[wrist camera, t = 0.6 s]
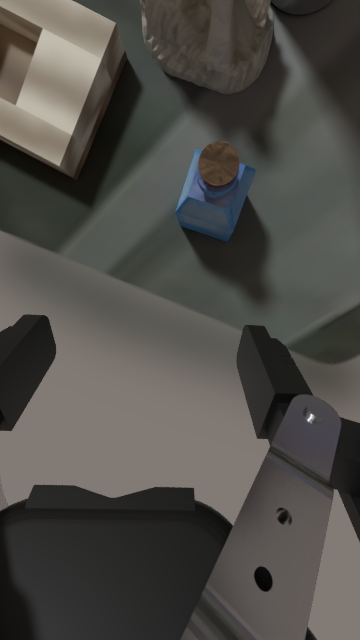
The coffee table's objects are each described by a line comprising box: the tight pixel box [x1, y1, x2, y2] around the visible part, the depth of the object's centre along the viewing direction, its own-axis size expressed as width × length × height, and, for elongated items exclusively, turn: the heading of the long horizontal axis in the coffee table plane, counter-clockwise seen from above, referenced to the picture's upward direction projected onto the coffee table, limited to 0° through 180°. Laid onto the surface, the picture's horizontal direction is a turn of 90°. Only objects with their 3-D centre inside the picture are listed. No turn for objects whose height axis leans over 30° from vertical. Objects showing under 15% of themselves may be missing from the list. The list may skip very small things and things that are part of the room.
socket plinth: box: [0, 0, 127, 181], centre depth 29 cm, size 15×22×4 cm
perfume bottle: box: [176, 141, 256, 242], centre depth 25 cm, size 6×6×12 cm
